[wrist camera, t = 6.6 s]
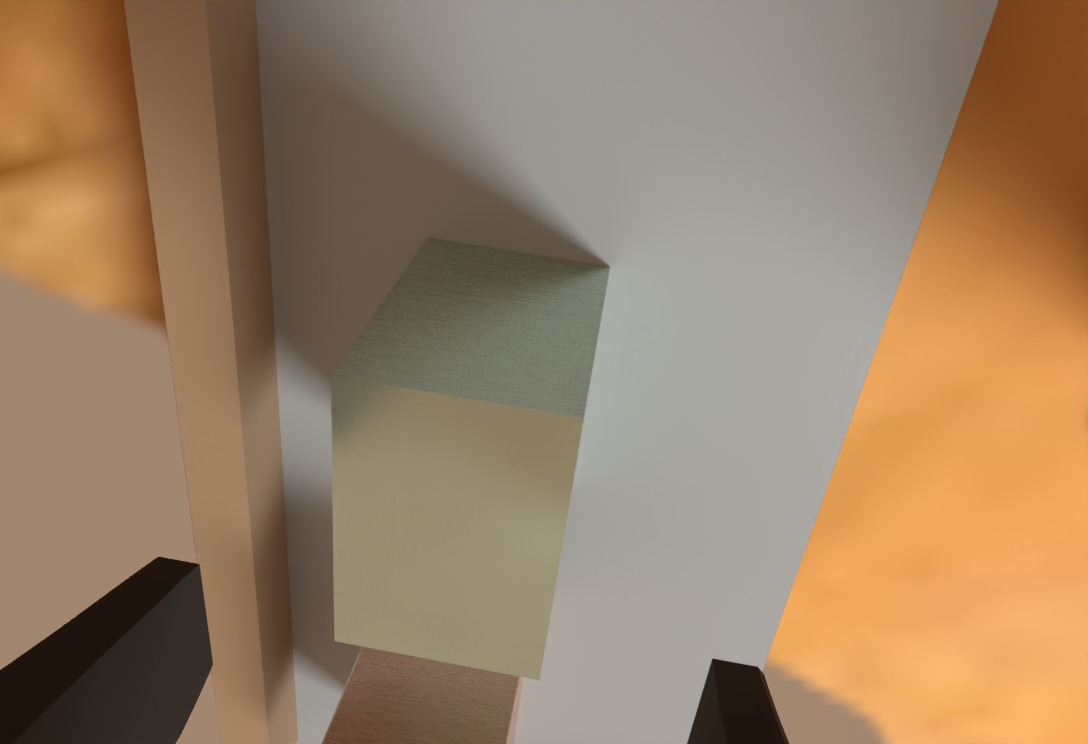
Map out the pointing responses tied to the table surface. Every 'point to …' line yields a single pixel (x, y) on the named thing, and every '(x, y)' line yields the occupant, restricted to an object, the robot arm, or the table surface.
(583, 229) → the shelf
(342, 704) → the terracotta tin
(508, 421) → the sage tin
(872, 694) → the table surface
